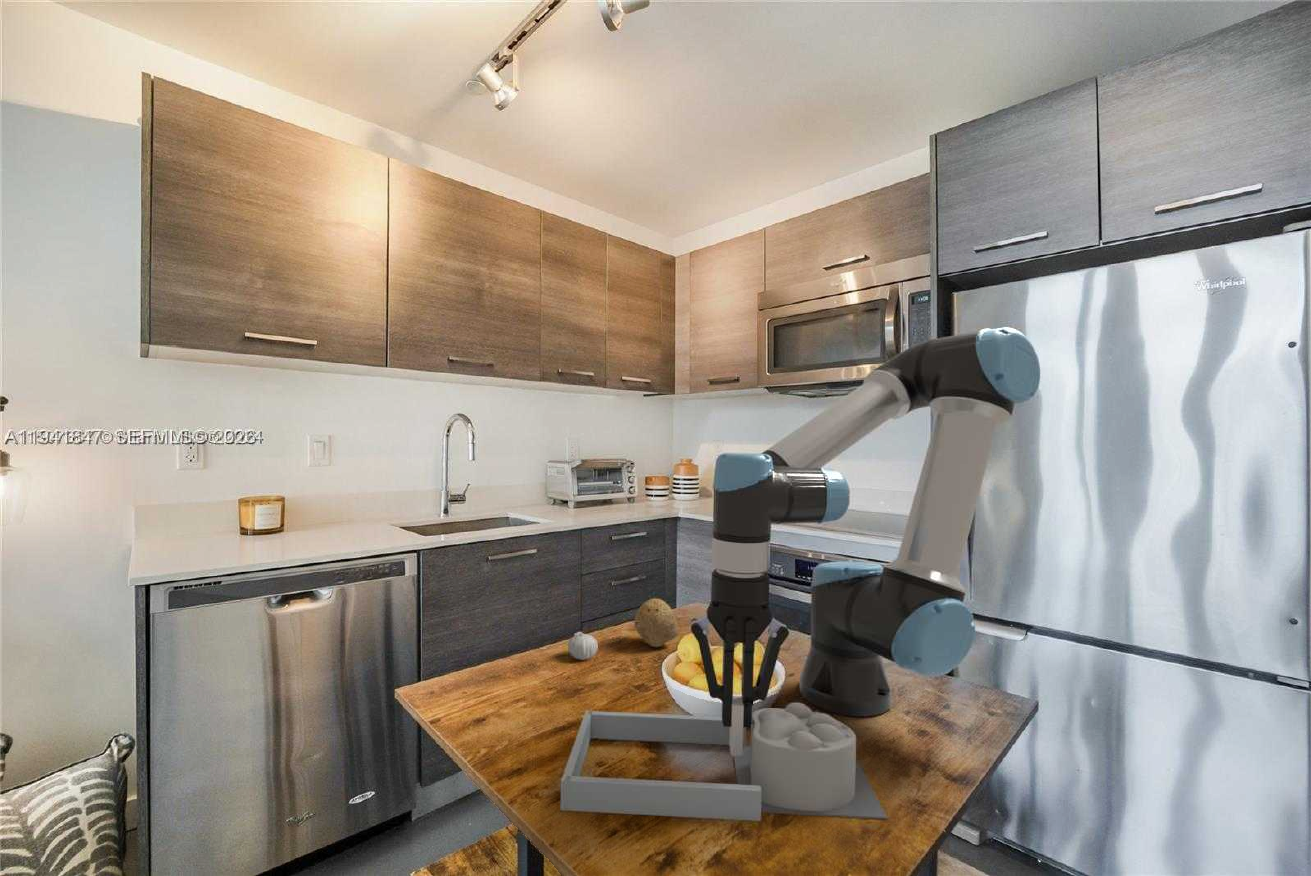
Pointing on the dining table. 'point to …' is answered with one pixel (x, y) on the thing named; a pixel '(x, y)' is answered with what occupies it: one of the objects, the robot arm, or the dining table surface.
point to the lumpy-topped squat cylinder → (802, 758)
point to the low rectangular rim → (655, 793)
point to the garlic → (582, 646)
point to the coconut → (656, 622)
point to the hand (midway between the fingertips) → (735, 749)
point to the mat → (858, 807)
